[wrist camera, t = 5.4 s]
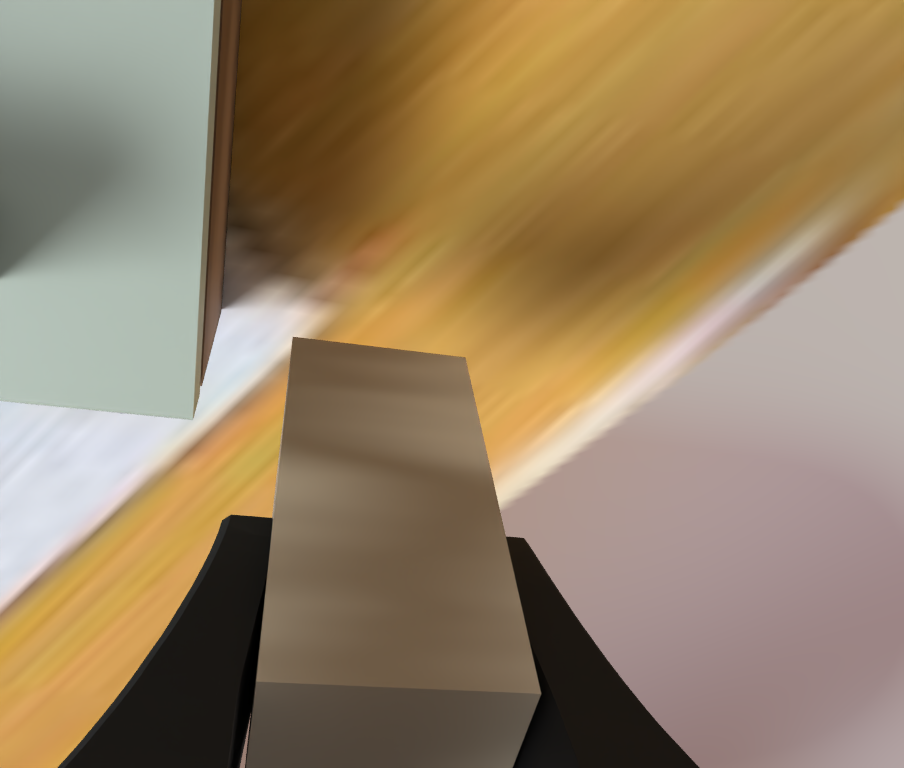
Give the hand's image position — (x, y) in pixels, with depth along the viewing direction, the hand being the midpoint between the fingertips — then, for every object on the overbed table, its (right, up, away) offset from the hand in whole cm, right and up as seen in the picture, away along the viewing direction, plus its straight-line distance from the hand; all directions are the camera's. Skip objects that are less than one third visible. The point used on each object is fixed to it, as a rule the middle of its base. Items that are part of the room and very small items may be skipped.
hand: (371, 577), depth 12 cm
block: (0, +2, +3) cm, 4 cm away
